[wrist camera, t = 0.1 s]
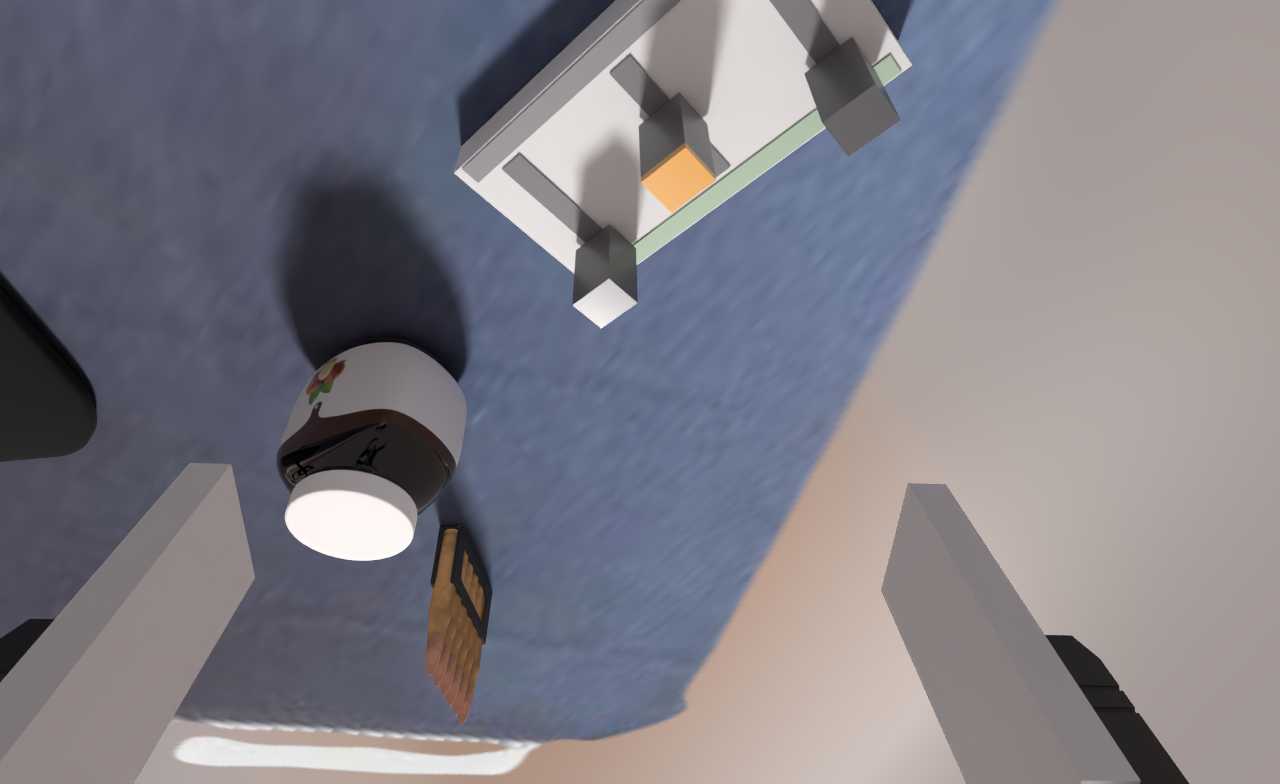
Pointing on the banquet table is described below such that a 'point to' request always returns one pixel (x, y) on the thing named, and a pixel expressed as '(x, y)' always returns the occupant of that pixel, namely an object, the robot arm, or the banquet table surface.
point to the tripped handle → (675, 153)
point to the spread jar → (370, 448)
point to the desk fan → (38, 394)
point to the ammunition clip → (457, 618)
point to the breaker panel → (640, 85)
